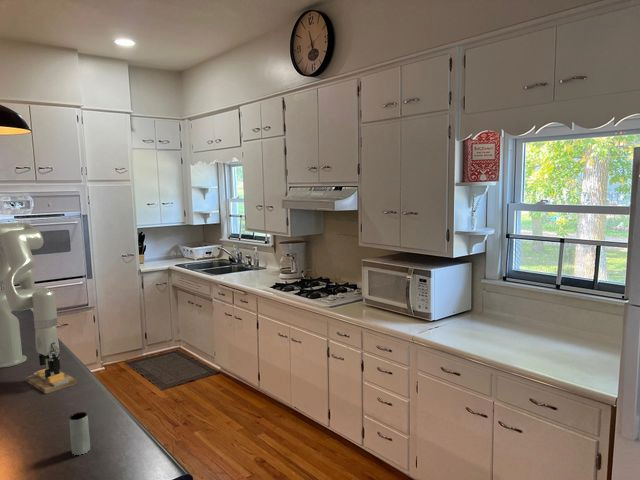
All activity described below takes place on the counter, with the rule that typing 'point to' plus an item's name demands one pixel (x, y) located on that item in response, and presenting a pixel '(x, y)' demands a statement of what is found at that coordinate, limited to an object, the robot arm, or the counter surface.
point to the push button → (47, 371)
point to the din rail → (54, 383)
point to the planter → (79, 433)
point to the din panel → (46, 386)
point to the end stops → (51, 378)
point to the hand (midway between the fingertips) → (49, 367)
